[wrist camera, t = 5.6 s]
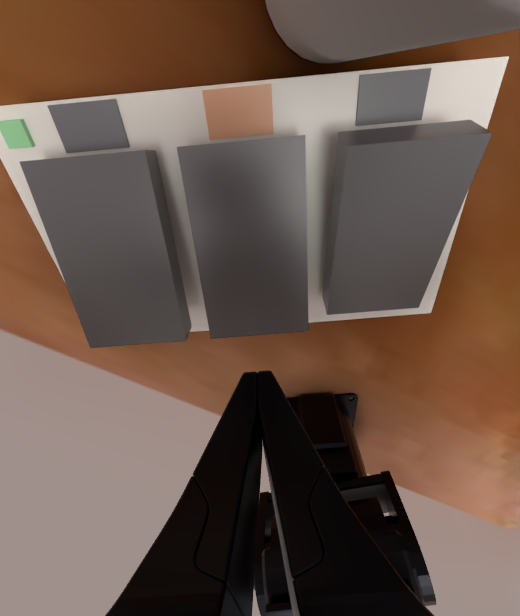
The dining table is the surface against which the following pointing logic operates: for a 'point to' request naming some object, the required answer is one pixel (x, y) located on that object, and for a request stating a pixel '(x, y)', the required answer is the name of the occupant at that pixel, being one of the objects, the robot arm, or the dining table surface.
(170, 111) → the rocker switch panel
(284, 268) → the block
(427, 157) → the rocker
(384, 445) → the dining table surface
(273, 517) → the robot arm
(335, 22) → the beverage can
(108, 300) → the block
